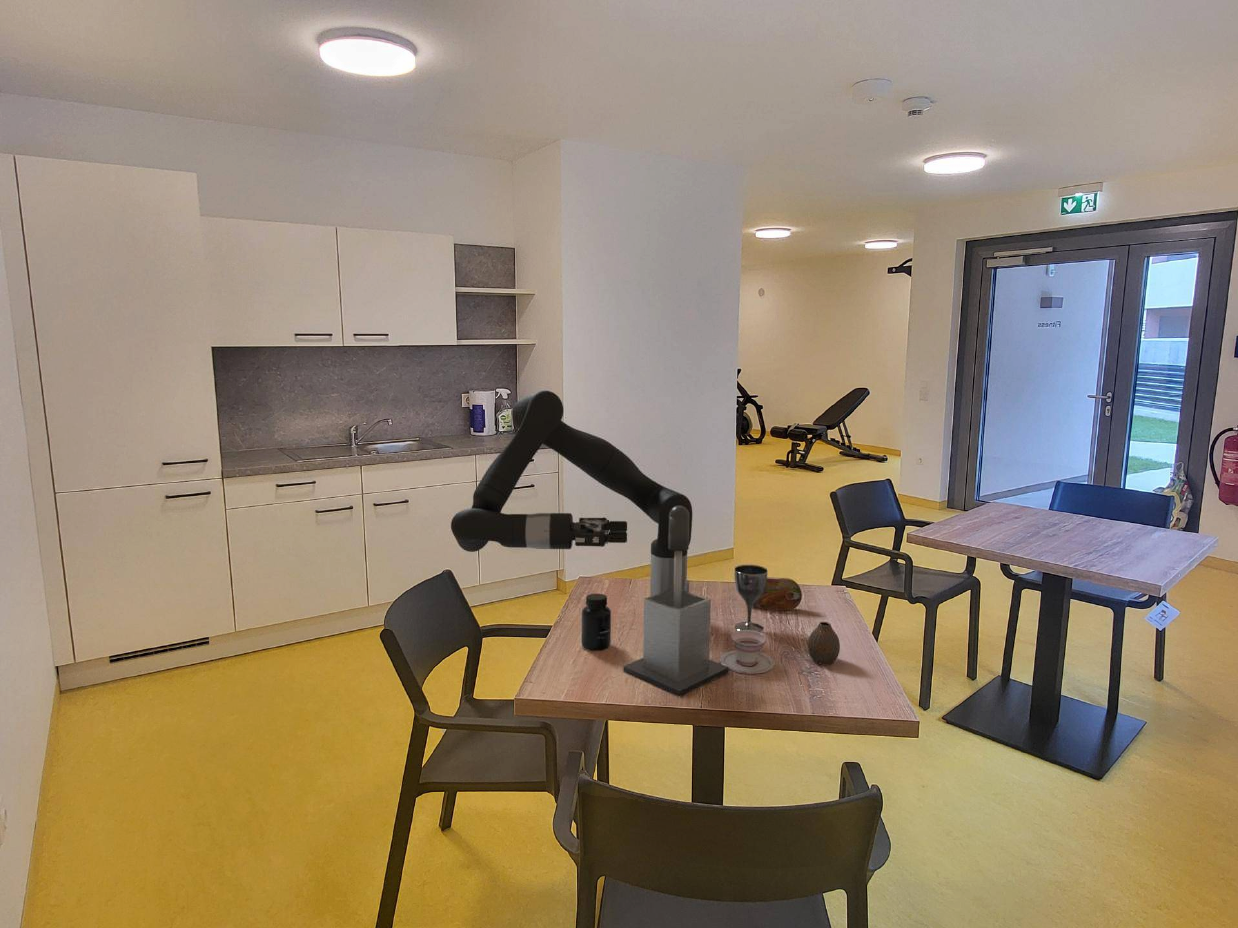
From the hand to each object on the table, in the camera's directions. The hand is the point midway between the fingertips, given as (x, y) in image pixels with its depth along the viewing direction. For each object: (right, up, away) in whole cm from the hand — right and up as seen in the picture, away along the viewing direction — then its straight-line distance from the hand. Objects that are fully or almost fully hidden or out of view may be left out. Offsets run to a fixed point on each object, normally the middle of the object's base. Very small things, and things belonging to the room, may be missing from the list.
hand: (627, 531), depth 157 cm
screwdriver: (+11, -19, +3) cm, 22 cm away
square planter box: (+11, -31, +5) cm, 33 cm away
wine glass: (+31, -27, +30) cm, 50 cm away
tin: (+39, -24, +44) cm, 64 cm away
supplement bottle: (-7, -28, +19) cm, 35 cm away
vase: (+44, -30, +11) cm, 54 cm away
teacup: (+27, -30, +10) cm, 42 cm away
